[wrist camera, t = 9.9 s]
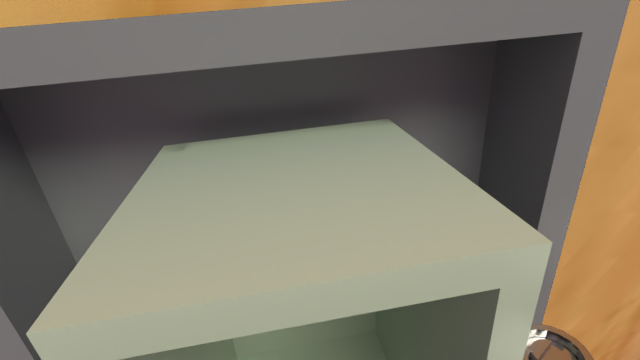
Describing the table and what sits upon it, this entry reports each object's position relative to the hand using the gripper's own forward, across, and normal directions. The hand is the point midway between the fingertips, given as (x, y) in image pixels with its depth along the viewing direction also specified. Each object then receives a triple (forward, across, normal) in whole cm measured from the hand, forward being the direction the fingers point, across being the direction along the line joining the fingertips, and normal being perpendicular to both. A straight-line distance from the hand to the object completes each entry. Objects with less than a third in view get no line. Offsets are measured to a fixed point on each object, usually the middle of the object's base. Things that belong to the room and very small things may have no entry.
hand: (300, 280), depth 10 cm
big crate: (+3, 0, 0) cm, 3 cm away
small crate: (+1, 0, 0) cm, 1 cm away
